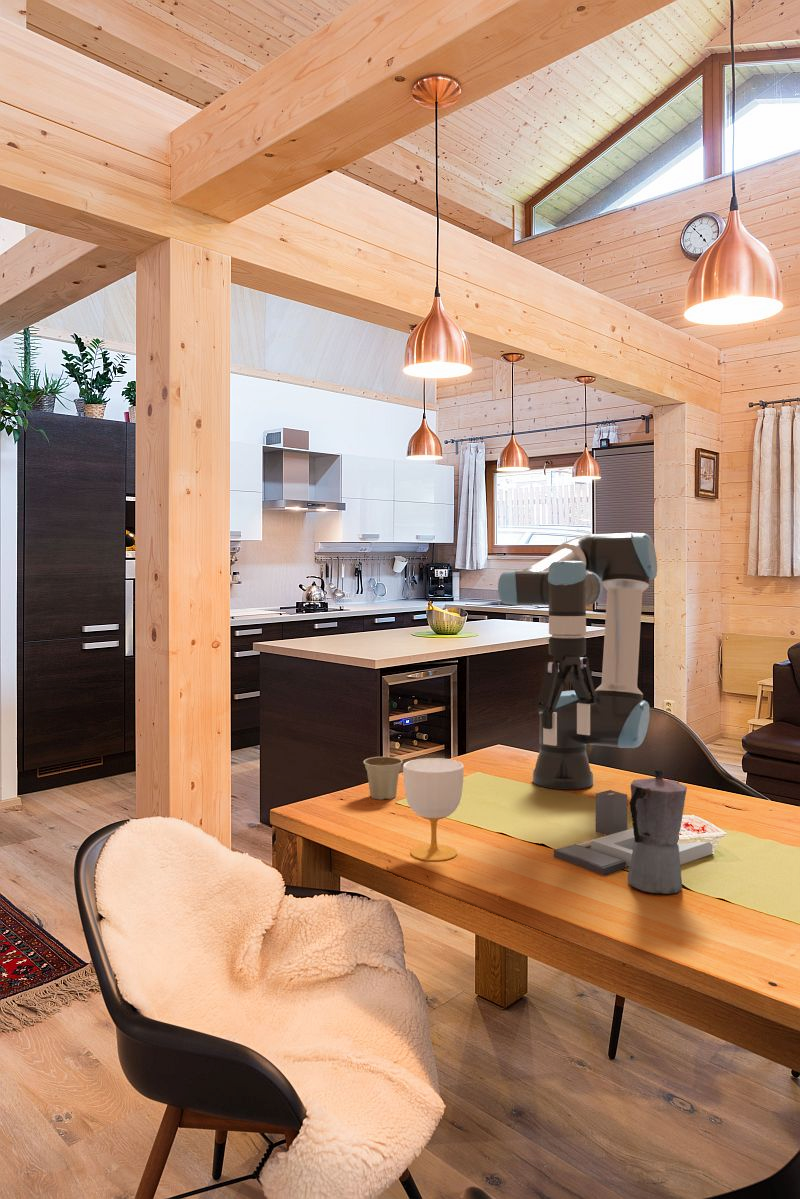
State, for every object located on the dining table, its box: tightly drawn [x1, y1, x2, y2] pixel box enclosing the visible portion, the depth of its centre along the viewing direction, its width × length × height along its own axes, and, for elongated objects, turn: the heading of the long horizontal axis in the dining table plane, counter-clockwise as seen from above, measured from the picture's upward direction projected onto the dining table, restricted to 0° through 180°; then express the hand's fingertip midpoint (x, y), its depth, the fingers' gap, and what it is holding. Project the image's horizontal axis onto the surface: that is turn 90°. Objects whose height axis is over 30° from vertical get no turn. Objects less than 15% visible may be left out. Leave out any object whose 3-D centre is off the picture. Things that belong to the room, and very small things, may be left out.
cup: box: [402, 757, 465, 862], centre depth 156 cm, size 12×12×17 cm
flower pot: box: [363, 756, 404, 801], centre depth 197 cm, size 9×9×9 cm
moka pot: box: [627, 768, 688, 895], centre depth 139 cm, size 10×15×20 cm, turn 138°
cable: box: [577, 835, 608, 848], centre depth 161 cm, size 11×1×1 cm, turn 126°
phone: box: [553, 843, 627, 876], centre depth 151 cm, size 6×12×1 cm, turn 36°
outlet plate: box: [590, 827, 713, 868], centre depth 156 cm, size 18×14×3 cm
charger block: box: [595, 789, 628, 836], centre depth 168 cm, size 4×4×8 cm
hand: (567, 739), depth 168 cm, fingers open, 13 cm apart
